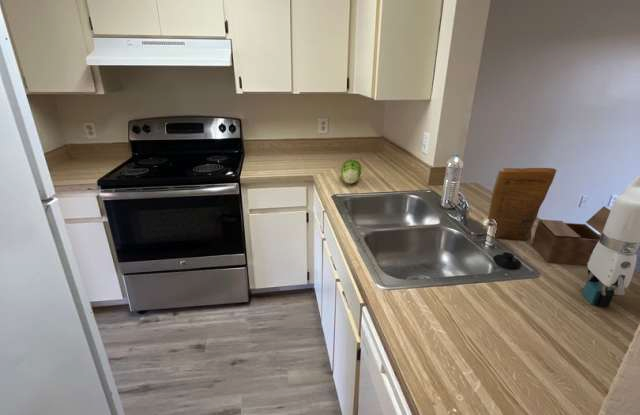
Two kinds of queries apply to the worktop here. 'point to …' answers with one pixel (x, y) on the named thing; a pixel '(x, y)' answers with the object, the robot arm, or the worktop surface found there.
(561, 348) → the worktop surface
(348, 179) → the lettuce
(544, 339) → the worktop surface
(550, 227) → the carton
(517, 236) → the wooden cutting board
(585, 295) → the block
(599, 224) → the flap
